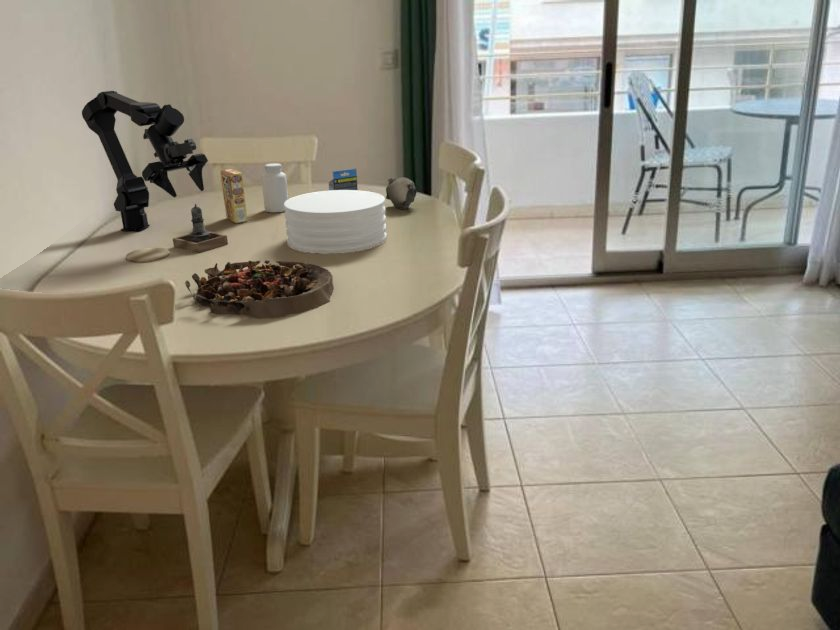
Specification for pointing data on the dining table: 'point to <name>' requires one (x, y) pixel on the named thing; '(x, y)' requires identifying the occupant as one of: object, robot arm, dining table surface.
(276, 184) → the pill bottle
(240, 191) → the candy box
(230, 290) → the food dish
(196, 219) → the grey tall carved piece
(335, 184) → the label tape box
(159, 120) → the robot arm
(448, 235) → the dining table surface
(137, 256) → the coaster
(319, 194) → the plate stack
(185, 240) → the bin frame
